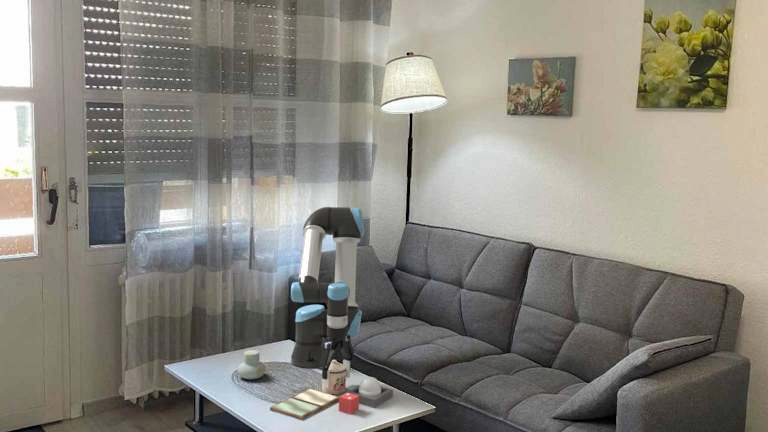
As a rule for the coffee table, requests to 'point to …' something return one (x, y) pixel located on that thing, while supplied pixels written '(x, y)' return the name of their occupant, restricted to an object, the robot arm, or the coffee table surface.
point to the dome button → (370, 387)
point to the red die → (349, 403)
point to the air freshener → (251, 366)
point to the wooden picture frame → (305, 403)
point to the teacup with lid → (336, 378)
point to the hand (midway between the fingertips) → (336, 382)
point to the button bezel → (370, 401)
